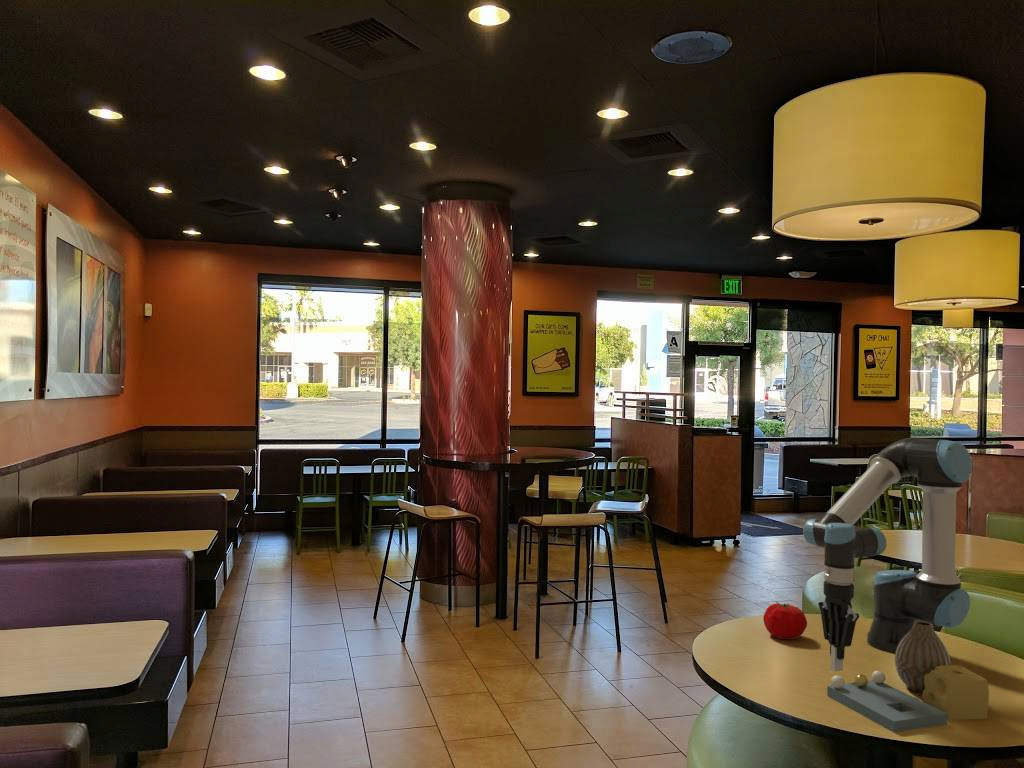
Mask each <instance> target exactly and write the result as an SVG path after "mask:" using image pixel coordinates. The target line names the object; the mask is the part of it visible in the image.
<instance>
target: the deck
mask: <svg viewBox="0 0 1024 768" xmlns="http://www.w3.org/2000/svg"><path fill="white" fill-rule="evenodd" d="M826 693H827V695H826V696H827V697H829V698H831V699H833V700H834V701H836V702H837V703H840V704H842V705H843V706H845V707H847V708H849V709H850V710H853V711H854V712H856V713H857V714H859V715H862V716H863V717H865V718H866V719H869V720H870V721H873V722H874V723H876V724H878V725H879V726H881V727H883V728H885V729H887V730H889V731H890V732H892V733H896V732H903V731H912V730H917V729H924V728H930V727H937V726H943V725H947V724H948V720H947V713H945V712H943V711H941V710H939V709H937V708H935V707H933V706H931V705H928V704H926V703H924V702H923V700H921V699H919V698H916V697H914V696H912V695H910V694H908V693H905V692H904V691H902V690H899V689H897V688H895V687H894V686H891V685H889V684H887V683H885V682H883V683H880V684H879V683H876V682H874V681H873V679H872V680H868V684H867V686H866V687H863V688H861V687H858V686H857V685H856V684H855V682H849V683H848V682H847V683H845V684H844V686H843V687H842V688H840V689H837V688H835V687H834V686H833V685H832V684H831V685H827V690H826Z"/></svg>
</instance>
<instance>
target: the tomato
mask: <svg viewBox="0 0 1024 768" xmlns="http://www.w3.org/2000/svg"><path fill="white" fill-rule="evenodd" d="M762 619H763V620H762V621H763V624H764V627H765V629H766V631H767V632H768V633H769V634H770V635H771V636H773V637H775V638H777V639H781V640H794V639H797V638H799V637H801V636H802V635H803V634H804V633H805V630H806V629H807V626H808V621H807V618H806V615H805V613H804V611H802V609H800V608H799V607H798V606H794V605H791V604H790V603H787V604H786V603H783V604H781V603H779V602H777V601H775V603H773V604H770V605H768V607H766V609H765V611H764V613H763V618H762Z"/></svg>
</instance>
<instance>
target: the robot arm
mask: <svg viewBox="0 0 1024 768" xmlns="http://www.w3.org/2000/svg"><path fill="white" fill-rule="evenodd" d="M972 470H973V462H972V458H971V454H970V452H969V450H968V449H967V448H966V447H965V445H963V444H962V443H960V442H957V441H954V440H953V441H952V440H947V439H934V438H931V439H930V438H919V437H918V438H917V437H907V438H902V439H899V440H898V441H895V442H892V443H891V444H889V445H888V446H886V447H885V448H883V449H882V450H881V451H880V452H878V453H877V454H876V455H874V457H873V458H872V459H871V460H870V461H869V467H868V469H866V471H864V473H863V474H862V475H861V476H859V478H858V479H857V480H856V481H855V482H854V483H853V484H852V485H851V486H850V487H849V488H848V490H846V491H845V492H844V493H843V495H842V496H841V497H840V498H839V499H838V500H837V501H836V502H835V503H834V504H833V506H831V507H830V509H828V511H827V512H826V513H825V514H824V515H823V516H822V517H821V518H820V519H819V518H810V519H808V520H807V521H806V522H805V524H804V526H803V530H802V535H803V538H804V539H805V541H806V542H807V543H808V544H810V545H813V546H816V547H819V548H824V561H823V562H824V563H823V565H824V566H823V579H824V581H823V592H822V593H823V595H824V596H825V599H824V601H818V604H817V605H818V607H819V611H820V616H821V623H822V631H823V637H824V640H826V641H828V643H829V655H830V670H831V671H833V672H838V671H839V672H840V671H843V669H844V659H845V648H846V647H852V642H853V638H854V635H855V634H854V633H855V628H856V624H857V621H858V619H859V618H860V615H859V613H857V612H856V613H855V611H854V610H853V605H852V600H853V598H854V597H855V595H854V594H855V586H854V582H855V560H856V559H857V558H859V559H861V558H868V557H875V556H878V555H882V554H883V553H884V552H885V551H886V548H887V538H886V535H885V534H884V532H882V531H881V530H880V529H879V528H875V527H865V528H864V527H857V526H854V525H855V524H856V522H857V521H858V520H859V519H860V518H861V517H862V516H863V515H864V514H865V513H866V511H868V510H869V508H870V507H872V505H873V504H874V503H875V502H876V501H878V499H879V498H880V497H881V496H882V494H883V493H884V492H885V491H886V490H887V489H888V488H889V487H890V486H891V485H892V484H897V483H898V482H899V481H901V479H903V478H905V477H915V478H917V480H916V481H917V486H918V487H919V488H920V489H921V490H922V524H921V525H922V533H921V534H922V536H921V538H922V540H921V541H922V542H921V543H922V544H921V546H922V547H921V571H919V572H918V573H917V572H915V571H914V570H913V571H912V570H907V569H905V570H904V569H887V570H885V569H884V570H880V571H877V572H876V573H875V576H874V584H873V586H874V587H873V588H874V589H873V591H874V593H873V595H874V596H873V597H874V598H873V619H872V622H871V624H870V628H869V631H868V633H867V635H866V636H867V639H866V641H867V643H868V644H869V646H871V647H873V648H875V649H878V650H881V651H886V652H890V653H894V654H895V653H896V649H897V646H898V644H899V642H900V640H901V639H902V638H903V637H904V636H905V634H906V633H907V632H908V631H909V630H910V629H911V628H912V627H913V625H914V621H917V620H918V621H926V622H929V623H932V624H933V625H935V626H938V627H944V628H949V629H950V628H951V629H952V628H956V627H959V626H960V625H961V624H962V623H963V622H964V621H965V619H966V618H967V616H968V614H969V611H970V607H971V597H970V595H969V593H968V592H967V591H966V590H965V589H963V588H962V586H961V585H962V584H961V583H962V581H961V579H960V578H959V577H958V576H957V575H956V534H957V533H956V531H957V530H956V525H957V521H956V517H957V507H956V506H957V492H958V491H960V490H961V489H962V488H963V483H965V482H967V481H968V480H969V479H970V477H971V475H970V474H971V473H972Z"/></svg>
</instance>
